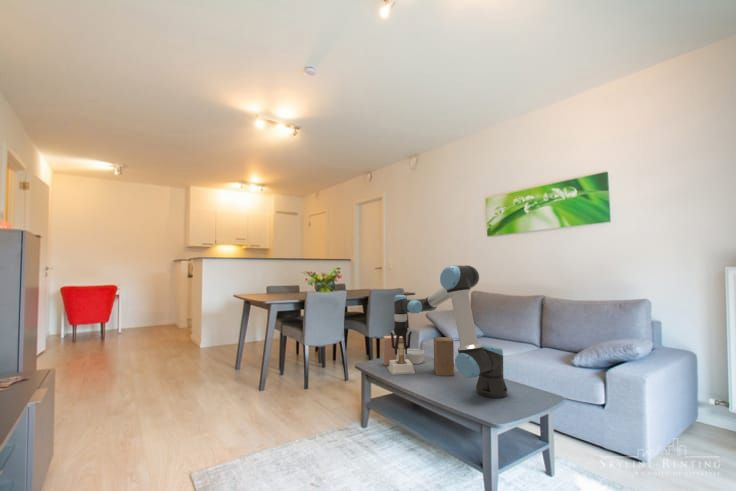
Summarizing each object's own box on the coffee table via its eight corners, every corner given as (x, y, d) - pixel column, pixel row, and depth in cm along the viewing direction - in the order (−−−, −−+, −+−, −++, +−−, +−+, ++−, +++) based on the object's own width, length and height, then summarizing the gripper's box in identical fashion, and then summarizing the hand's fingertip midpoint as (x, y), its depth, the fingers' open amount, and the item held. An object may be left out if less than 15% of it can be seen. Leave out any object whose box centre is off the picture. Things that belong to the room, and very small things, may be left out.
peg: (404, 366, 215) (404, 343, 216) (398, 366, 215) (398, 343, 215) (403, 364, 219) (403, 341, 220) (397, 365, 219) (396, 341, 219)
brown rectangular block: (404, 366, 225) (404, 337, 226) (385, 367, 224) (385, 338, 225) (402, 363, 232) (401, 335, 233) (383, 364, 231) (383, 336, 232)
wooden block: (454, 375, 207) (453, 340, 208) (436, 375, 207) (436, 340, 208) (450, 370, 217) (450, 337, 218) (433, 370, 217) (433, 337, 218)
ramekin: (400, 360, 240) (400, 350, 240) (417, 358, 245) (417, 348, 245) (411, 365, 228) (411, 354, 228) (428, 363, 233) (428, 352, 233)
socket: (415, 373, 211) (415, 365, 211) (391, 374, 209) (391, 366, 209) (409, 366, 225) (409, 358, 225) (387, 367, 223) (387, 359, 223)
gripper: (412, 319, 223) (412, 357, 222) (386, 320, 221) (386, 358, 220) (415, 321, 216) (415, 360, 214) (388, 322, 214) (388, 362, 212)
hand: (400, 359), depth 217 cm, fingers closed on peg, 3 cm apart
